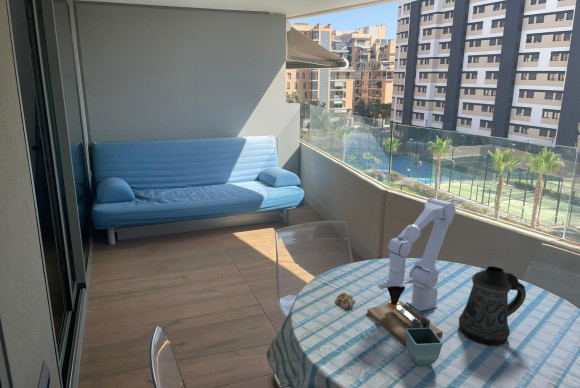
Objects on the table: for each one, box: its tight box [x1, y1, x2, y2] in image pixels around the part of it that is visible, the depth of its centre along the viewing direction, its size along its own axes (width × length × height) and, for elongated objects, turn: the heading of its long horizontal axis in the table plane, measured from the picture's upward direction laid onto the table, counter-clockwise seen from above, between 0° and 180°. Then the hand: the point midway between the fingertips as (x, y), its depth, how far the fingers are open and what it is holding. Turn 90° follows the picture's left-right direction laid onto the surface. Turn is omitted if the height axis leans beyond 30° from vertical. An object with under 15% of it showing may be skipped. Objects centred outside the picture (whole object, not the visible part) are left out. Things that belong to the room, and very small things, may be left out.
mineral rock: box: [334, 292, 356, 311], centre depth 160 cm, size 11×4×8 cm
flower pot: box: [405, 328, 443, 366], centre depth 125 cm, size 9×9×9 cm
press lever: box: [387, 300, 425, 328], centre depth 144 cm, size 3×17×2 cm, turn 23°
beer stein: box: [458, 266, 527, 347], centre depth 139 cm, size 16×19×25 cm
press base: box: [366, 300, 444, 348], centre depth 145 cm, size 16×23×7 cm
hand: (394, 302), depth 150 cm, fingers closed, pressing on press lever
